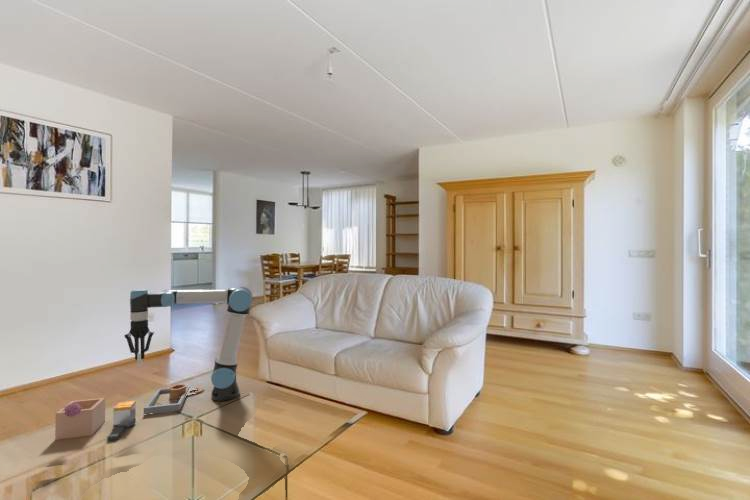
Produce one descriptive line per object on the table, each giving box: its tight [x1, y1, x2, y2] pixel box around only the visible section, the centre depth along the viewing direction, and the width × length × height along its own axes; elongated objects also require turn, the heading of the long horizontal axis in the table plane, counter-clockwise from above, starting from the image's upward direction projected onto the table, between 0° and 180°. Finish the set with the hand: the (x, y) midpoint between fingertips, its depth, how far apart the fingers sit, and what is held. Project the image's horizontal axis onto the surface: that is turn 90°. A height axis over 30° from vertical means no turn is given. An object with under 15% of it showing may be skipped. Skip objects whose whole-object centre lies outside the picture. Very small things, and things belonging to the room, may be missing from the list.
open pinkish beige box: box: [54, 397, 106, 441], centre depth 169 cm, size 14×14×12 cm
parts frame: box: [143, 385, 191, 415], centre depth 199 cm, size 17×27×4 cm, turn 18°
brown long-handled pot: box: [169, 383, 205, 400], centre depth 208 cm, size 18×8×7 cm, turn 129°
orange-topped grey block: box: [112, 400, 137, 426], centre depth 173 cm, size 7×7×8 cm
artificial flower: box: [63, 402, 83, 417], centre depth 163 cm, size 7×7×25 cm
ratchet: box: [106, 417, 136, 442], centre depth 168 cm, size 9×19×8 cm, turn 18°
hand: (139, 365), depth 181 cm, fingers closed
